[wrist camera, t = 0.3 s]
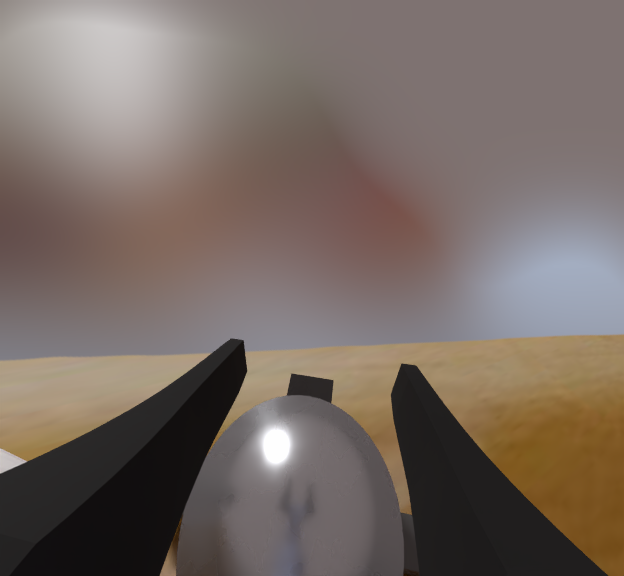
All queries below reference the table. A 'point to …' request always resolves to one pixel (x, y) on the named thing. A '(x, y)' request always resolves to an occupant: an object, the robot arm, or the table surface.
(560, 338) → the table surface
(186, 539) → the lid
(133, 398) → the table surface
